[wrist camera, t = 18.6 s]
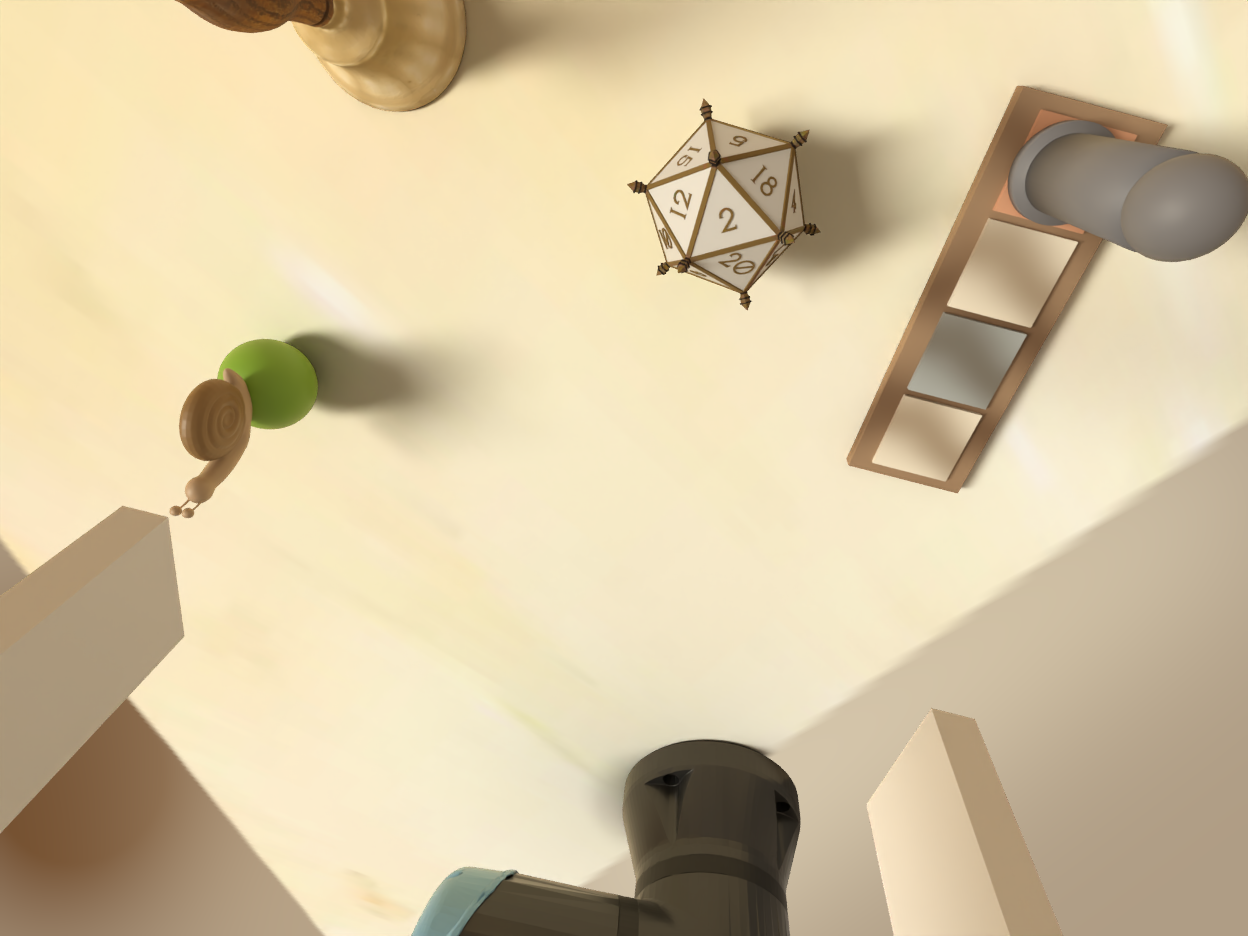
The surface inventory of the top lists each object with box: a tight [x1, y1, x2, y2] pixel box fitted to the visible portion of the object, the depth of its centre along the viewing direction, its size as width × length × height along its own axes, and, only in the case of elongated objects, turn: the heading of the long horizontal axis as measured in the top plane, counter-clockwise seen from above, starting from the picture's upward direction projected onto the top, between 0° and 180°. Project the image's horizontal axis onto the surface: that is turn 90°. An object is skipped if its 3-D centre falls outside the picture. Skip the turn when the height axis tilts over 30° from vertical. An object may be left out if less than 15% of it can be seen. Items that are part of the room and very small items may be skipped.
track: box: [847, 86, 1168, 493], centre depth 38 cm, size 21×7×1 cm, turn 167°
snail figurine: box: [170, 339, 318, 518], centre depth 40 cm, size 5×6×12 cm
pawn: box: [1008, 120, 1248, 262], centre depth 28 cm, size 5×5×12 cm
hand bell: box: [175, 0, 466, 111], centre depth 27 cm, size 8×8×16 cm
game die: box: [627, 99, 820, 310], centre depth 33 cm, size 9×8×10 cm
